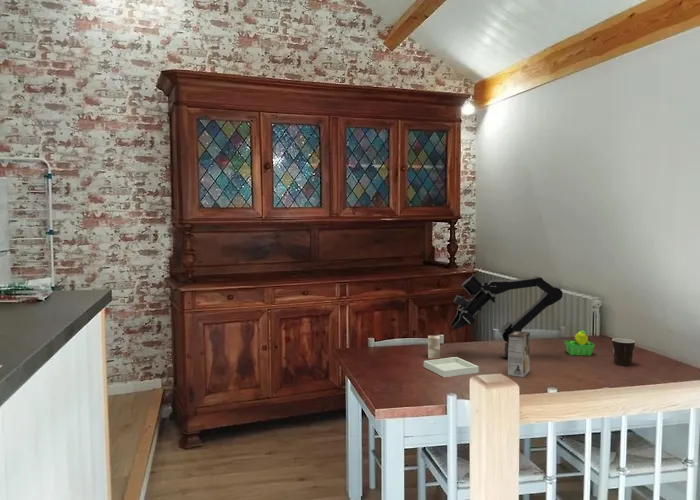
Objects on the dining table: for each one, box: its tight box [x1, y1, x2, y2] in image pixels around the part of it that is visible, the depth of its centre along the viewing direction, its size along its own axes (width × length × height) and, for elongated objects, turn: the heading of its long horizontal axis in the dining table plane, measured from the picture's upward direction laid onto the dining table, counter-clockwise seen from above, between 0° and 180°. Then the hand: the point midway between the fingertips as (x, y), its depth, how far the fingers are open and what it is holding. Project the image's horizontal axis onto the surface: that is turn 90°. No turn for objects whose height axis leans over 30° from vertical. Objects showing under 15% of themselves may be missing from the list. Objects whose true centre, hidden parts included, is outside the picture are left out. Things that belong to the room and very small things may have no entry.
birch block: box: [427, 335, 441, 359], centre depth 244 cm, size 5×5×9 cm
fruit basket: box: [564, 330, 595, 356], centre depth 247 cm, size 11×9×11 cm
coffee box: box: [507, 331, 531, 378], centre depth 218 cm, size 9×6×16 cm
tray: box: [423, 356, 480, 378], centre depth 225 cm, size 16×16×2 cm
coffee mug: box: [611, 337, 636, 367], centre depth 230 cm, size 12×9×10 cm
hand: (452, 326), depth 243 cm, fingers open, 9 cm apart
